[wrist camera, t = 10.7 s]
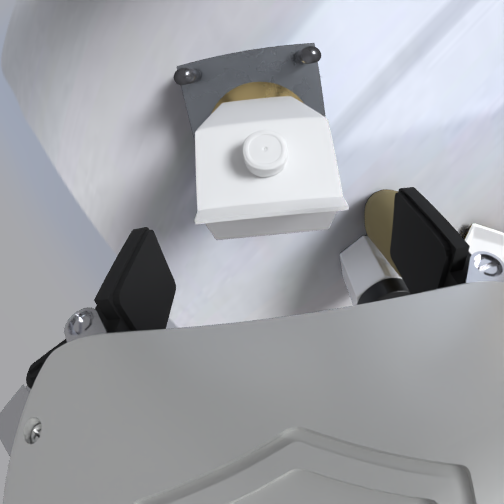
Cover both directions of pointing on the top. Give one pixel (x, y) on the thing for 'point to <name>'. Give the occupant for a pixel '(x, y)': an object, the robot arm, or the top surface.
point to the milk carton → (266, 169)
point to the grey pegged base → (251, 79)
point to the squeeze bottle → (381, 221)
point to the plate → (485, 240)
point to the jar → (369, 274)
